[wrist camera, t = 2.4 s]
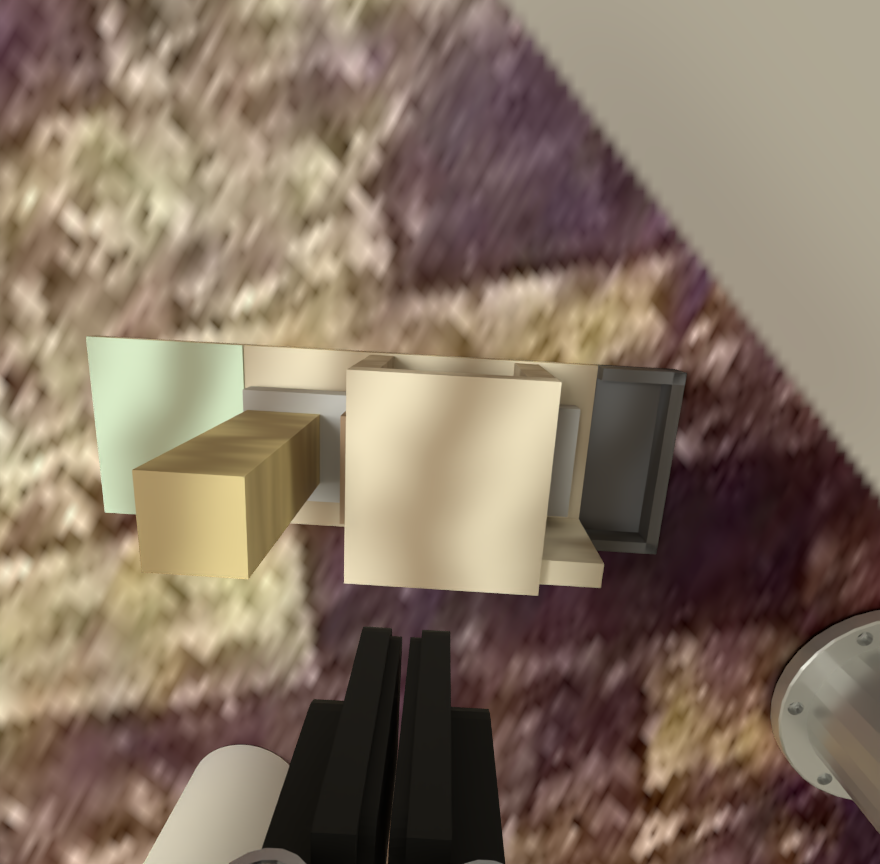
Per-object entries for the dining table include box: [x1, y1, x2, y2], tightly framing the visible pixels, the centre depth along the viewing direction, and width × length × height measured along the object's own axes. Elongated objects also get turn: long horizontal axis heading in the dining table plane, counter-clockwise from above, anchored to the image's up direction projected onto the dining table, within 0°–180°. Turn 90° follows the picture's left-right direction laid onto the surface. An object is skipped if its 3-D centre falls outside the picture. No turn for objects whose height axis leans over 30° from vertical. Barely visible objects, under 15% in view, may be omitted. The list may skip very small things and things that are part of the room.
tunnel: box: [86, 336, 687, 596], centre depth 25 cm, size 30×10×6 cm, turn 87°
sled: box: [132, 386, 580, 579], centre depth 22 cm, size 16×6×11 cm, turn 87°
